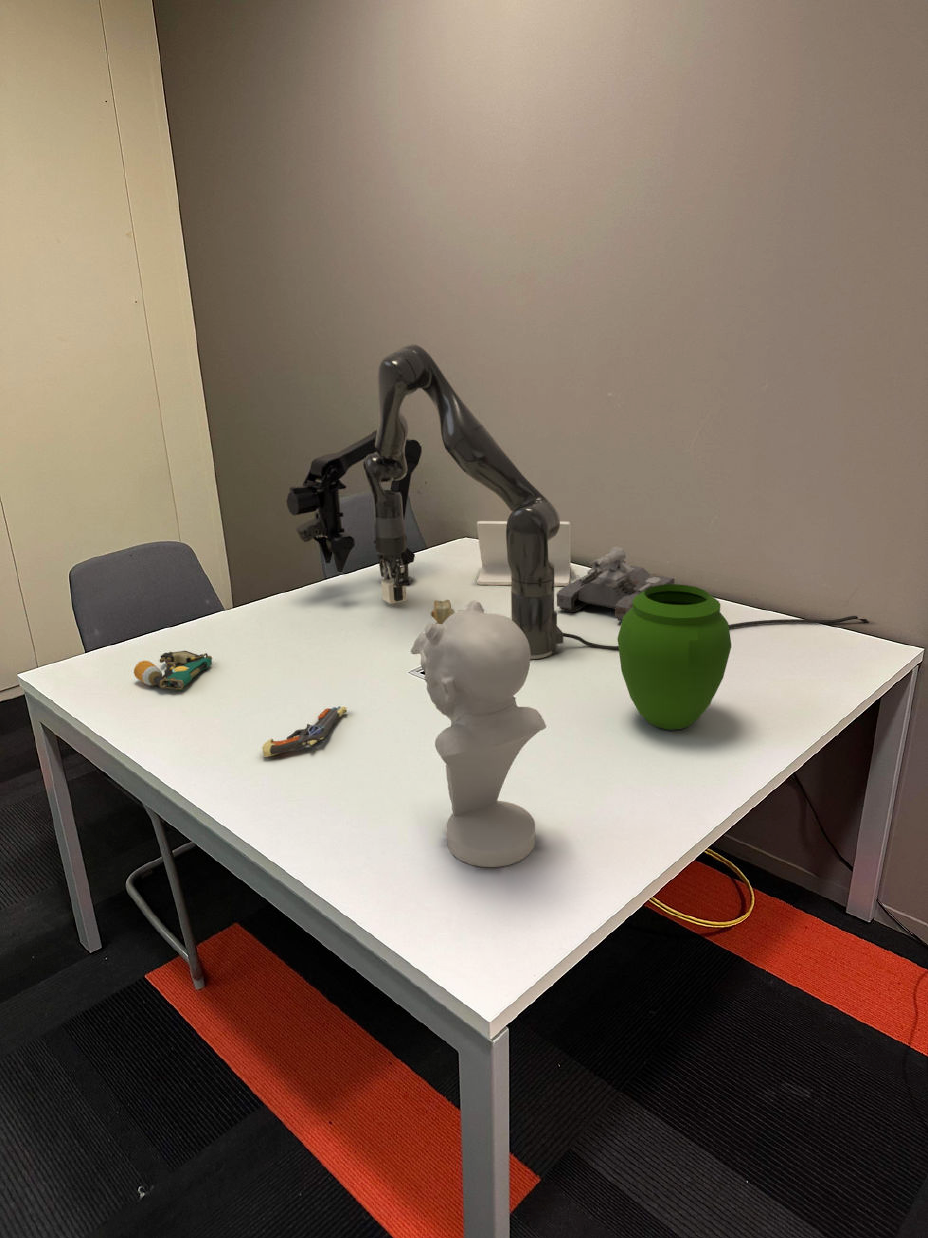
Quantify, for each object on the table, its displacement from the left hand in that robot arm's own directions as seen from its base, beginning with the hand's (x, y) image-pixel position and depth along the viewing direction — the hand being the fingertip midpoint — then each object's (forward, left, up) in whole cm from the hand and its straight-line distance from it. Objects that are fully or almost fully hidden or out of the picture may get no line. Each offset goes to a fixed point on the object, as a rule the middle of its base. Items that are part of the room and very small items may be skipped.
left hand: (333, 567), depth 221 cm
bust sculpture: (+105, +35, -9) cm, 112 cm away
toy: (+9, +72, -9) cm, 73 cm away
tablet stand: (-17, +51, -9) cm, 54 cm away
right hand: (+5, +16, -7) cm, 18 cm away
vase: (+72, +71, -9) cm, 102 cm away
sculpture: (+47, +30, -9) cm, 57 cm away
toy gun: (+75, +6, -9) cm, 75 cm away
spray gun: (+47, -27, -9) cm, 55 cm away
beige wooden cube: (+5, +16, -7) cm, 18 cm away
